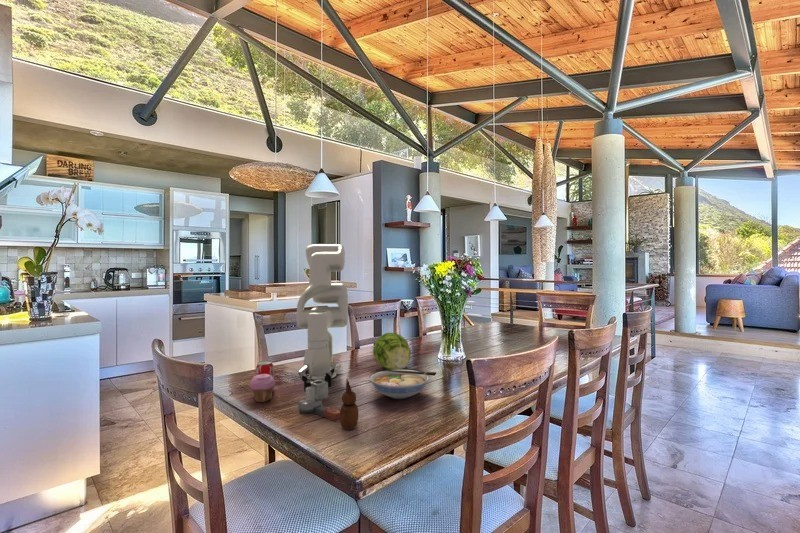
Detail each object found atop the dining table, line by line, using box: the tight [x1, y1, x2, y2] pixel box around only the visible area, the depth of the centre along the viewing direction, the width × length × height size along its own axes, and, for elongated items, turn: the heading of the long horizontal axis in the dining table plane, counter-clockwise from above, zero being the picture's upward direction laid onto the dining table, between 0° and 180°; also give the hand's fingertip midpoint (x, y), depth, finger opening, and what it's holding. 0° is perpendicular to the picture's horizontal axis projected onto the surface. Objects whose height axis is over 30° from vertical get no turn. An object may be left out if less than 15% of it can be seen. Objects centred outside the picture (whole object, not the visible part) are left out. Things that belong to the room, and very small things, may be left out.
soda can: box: [255, 360, 275, 392], centre depth 164 cm, size 7×7×12 cm
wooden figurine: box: [339, 378, 359, 431], centre depth 129 cm, size 7×6×15 cm
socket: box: [310, 380, 329, 400], centre depth 157 cm, size 5×5×6 cm
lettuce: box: [373, 332, 412, 370], centre depth 197 cm, size 17×23×17 cm
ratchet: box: [298, 387, 340, 422], centre depth 141 cm, size 8×19×8 cm, turn 50°
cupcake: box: [249, 374, 276, 403], centre depth 154 cm, size 9×9×10 cm
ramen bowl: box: [369, 368, 437, 400], centre depth 158 cm, size 25×23×8 cm
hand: (318, 389), depth 156 cm, fingers open, 9 cm apart
